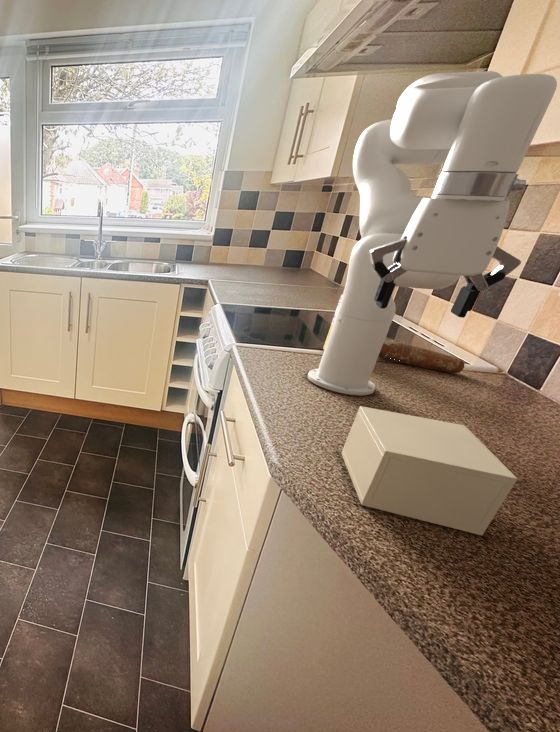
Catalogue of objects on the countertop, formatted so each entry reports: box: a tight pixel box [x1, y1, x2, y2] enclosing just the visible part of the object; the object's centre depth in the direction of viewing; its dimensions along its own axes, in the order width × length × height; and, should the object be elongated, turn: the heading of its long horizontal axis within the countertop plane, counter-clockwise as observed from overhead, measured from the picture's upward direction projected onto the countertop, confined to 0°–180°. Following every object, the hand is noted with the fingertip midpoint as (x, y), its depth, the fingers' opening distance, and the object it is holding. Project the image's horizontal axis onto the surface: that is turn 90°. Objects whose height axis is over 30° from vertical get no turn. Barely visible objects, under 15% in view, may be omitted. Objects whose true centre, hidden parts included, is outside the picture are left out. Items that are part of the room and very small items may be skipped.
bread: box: [378, 337, 465, 374], centre depth 105 cm, size 6×19×6 cm, turn 48°
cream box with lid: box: [340, 405, 518, 536], centre depth 57 cm, size 14×13×9 cm
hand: (417, 310), depth 64 cm, fingers open, 9 cm apart
